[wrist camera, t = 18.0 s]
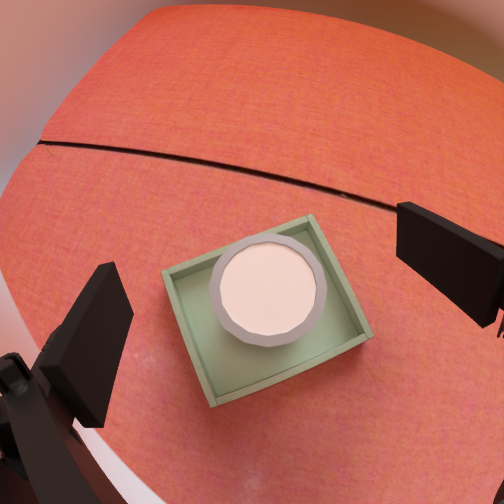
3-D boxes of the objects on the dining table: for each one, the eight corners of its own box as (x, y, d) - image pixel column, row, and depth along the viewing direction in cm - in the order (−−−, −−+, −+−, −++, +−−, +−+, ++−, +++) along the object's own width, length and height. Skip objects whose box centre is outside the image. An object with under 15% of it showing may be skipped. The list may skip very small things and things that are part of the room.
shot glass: (322, 333, 23) (347, 318, 17) (240, 366, 22) (233, 365, 16) (288, 256, 26) (298, 216, 19) (209, 286, 25) (193, 254, 18)
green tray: (214, 405, 22) (210, 408, 20) (167, 279, 26) (160, 270, 24) (365, 339, 24) (374, 336, 22) (308, 224, 27) (312, 212, 25)
